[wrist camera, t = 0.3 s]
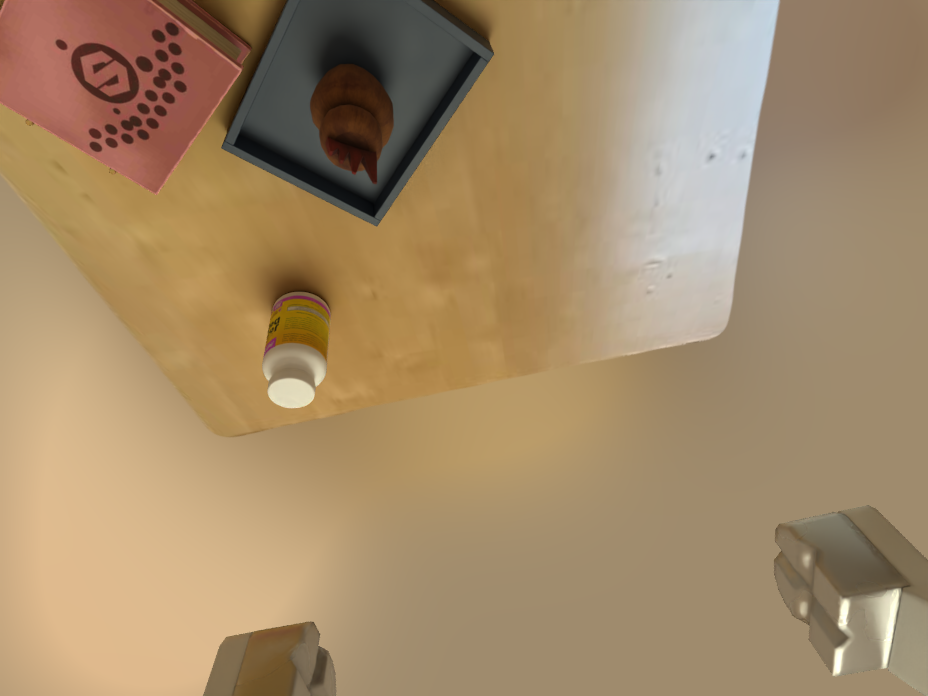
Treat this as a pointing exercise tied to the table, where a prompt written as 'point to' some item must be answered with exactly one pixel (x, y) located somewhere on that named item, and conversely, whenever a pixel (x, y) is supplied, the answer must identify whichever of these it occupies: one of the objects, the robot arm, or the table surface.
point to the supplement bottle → (296, 348)
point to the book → (118, 77)
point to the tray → (384, 56)
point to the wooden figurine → (352, 118)
